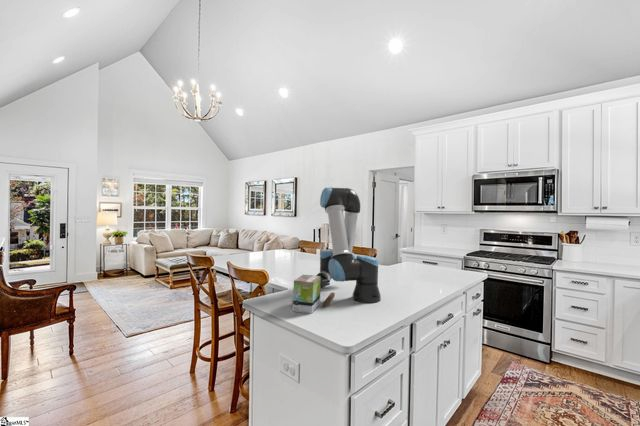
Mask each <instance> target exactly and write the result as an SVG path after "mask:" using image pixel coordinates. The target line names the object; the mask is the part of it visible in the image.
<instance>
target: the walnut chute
mask: <svg viewBox="0 0 640 426" xmlns="http://www.w3.org/2000/svg"><path fill="white" fill-rule="evenodd" d="M335 294H336V293H335V292H330V293H329V294H328V296H327V297H326V298H325V299H324V301H323V302H322V308H326V309H327V308H328V306H329V305H330V304H331V302H332V301H333V299H334V298H335V296H336V295H335Z"/></svg>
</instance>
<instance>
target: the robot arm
mask: <svg viewBox="0 0 640 426" xmlns="http://www.w3.org/2000/svg"><path fill="white" fill-rule="evenodd" d="M319 205H320V207H321V208H323V209H324V212H325V213H326V214H327V215H328V216H327V217H328V222H329V223H328V224H329V229H330V230H329V231H330V238H331V246H332V249H322V250H320V253H319V254H320V255H319V256H320V257H319V272H318V273H317V274H316V275H315V276H321V285H320V289H322V288H325V287H327V286H329V285H331V283H330V282H331V281H332V280H333V281H335V282H340V283H341V282H348V281H349V282H350V281H353V282H354V281H355V286H354V289H353V292H352V299H353V300H354V301H356V302H360V303H365V304H366V303H369V304H371V303H372V304H373V303H378V302H380V301H382V300H381V299H382V297H381V292H380V289H379V283H378V282H379V280H378V279H379V260H378V258H376V257H373V256H368V255H364V254H358V255H355V253H354V252H353V248H354V241H355V234H356V230H357V229H356V228H357V221H358V216H359V215H358V214H360V213H361V200H360V198H359V196H358V194H357V193H356V192H355V190H353V189H352V188H348V187H343V188H342V187H332V186H331V187H324V188H323V189H322V191H321V194H320V200H319ZM344 212H345V213H344Z"/></svg>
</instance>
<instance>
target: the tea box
mask: <svg viewBox="0 0 640 426" xmlns="http://www.w3.org/2000/svg"><path fill="white" fill-rule="evenodd" d="M320 285H321V276H316V275H310V274H302V275H300V276H299V277H297V278H295V279H294V280H293V295H292V312H296V313H305V314H312V313H314V311H315V310H316V309H317V308H318V306H320V304H321V288H320Z"/></svg>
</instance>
